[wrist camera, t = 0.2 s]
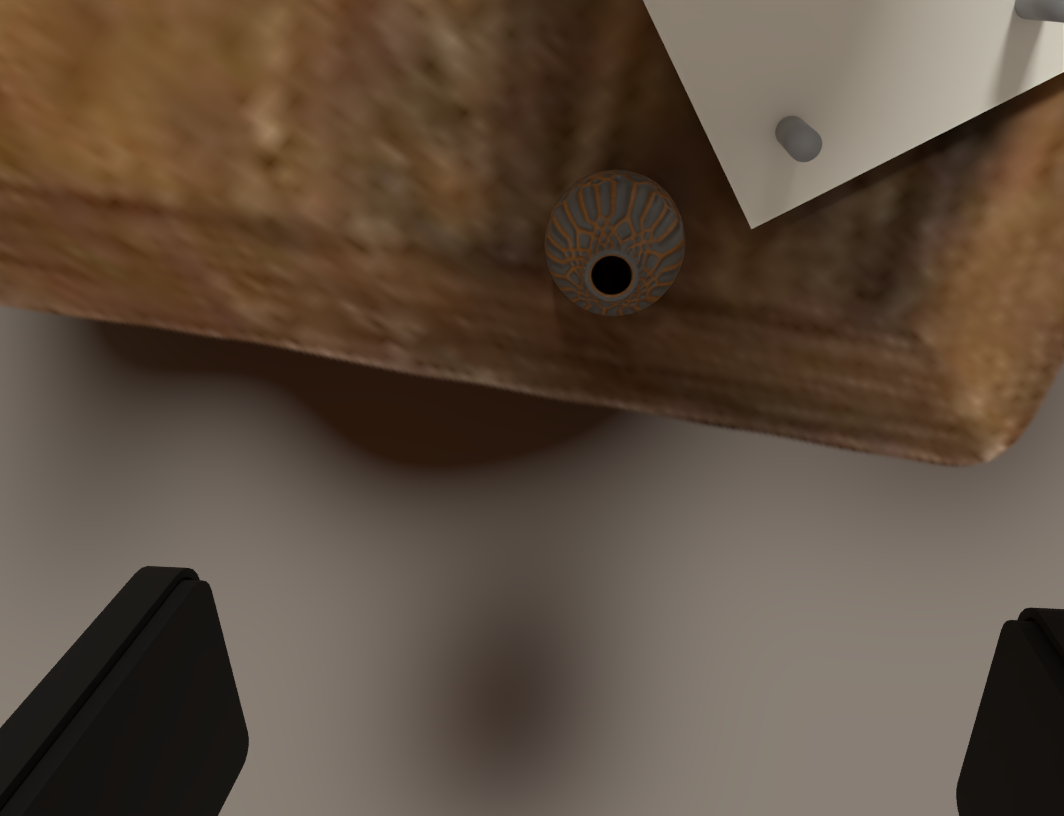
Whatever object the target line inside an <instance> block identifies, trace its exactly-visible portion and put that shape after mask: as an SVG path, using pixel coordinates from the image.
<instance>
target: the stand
mask: <svg viewBox="0 0 1064 816" xmlns="http://www.w3.org/2000/svg"><path fill="white" fill-rule="evenodd" d="M643 2H644V4H645V6H646V8H647V10H648V12H649V14H650V16H651V18H652V21H653V23H654V25H655V27H656V29H657V31H658V33H659V35H660V37H661V39H662V42H663V44H664V46H665V48H666V50H667V52H668V54H669V56H670V58H671V61H672V63H673V65H674V67H675V69H676V71H677V73H678V75H679V77H680V80H681V82H682V84H683V86H684V88H685V90H686V92H687V94H688V96H689V99H690V101H691V103H692V105H693V107H694V109H695V111H696V113H697V115H698V118H699V120H700V122H701V124H702V126H703V128H704V130H705V132H706V134H707V136H708V139H709V141H710V143H711V145H712V147H713V149H714V151H715V153H716V155H717V158H718V160H719V162H720V164H721V166H722V168H723V170H724V172H725V174H726V177H727V179H728V181H729V183H730V185H731V187H732V189H733V191H734V193H735V196H736V198H737V200H738V202H739V204H740V206H741V208H742V210H743V212H744V214H745V217H746V219H747V221H748V223H749V225H750V227H751V229H753V228H755V227H757V226H759V225H761V224H763V223H765V222H767V221H769V220H771V219H773V218H775V217H777V216H779V215H781V214H783V213H785V212H787V211H789V210H791V209H793V208H795V207H797V206H799V205H801V204H803V203H805V202H807V201H809V200H811V199H813V198H815V197H817V196H819V195H821V194H823V193H825V192H827V191H829V190H831V189H833V188H835V187H837V186H839V185H841V184H843V183H845V182H847V181H848V180H850V179H852V178H854V177H856V176H858V175H860V174H862V173H864V172H866V171H868V170H870V169H872V168H874V167H876V166H878V165H880V164H882V163H884V162H886V161H888V160H890V159H892V158H894V157H896V156H898V155H900V154H902V153H904V152H906V151H908V150H910V149H912V148H914V147H916V146H918V145H920V144H922V143H924V142H926V141H928V140H930V139H932V138H934V137H936V136H938V135H940V134H942V133H944V132H946V131H948V130H950V129H952V128H954V127H956V126H958V125H960V124H962V123H964V122H966V121H968V120H970V119H971V118H973V117H975V116H977V115H979V114H981V113H983V112H985V111H987V110H989V109H991V108H993V107H995V106H997V105H999V104H1001V103H1003V102H1005V101H1007V100H1009V99H1011V98H1013V97H1015V96H1017V95H1019V94H1021V93H1023V92H1025V91H1027V90H1029V89H1031V88H1033V87H1035V86H1037V85H1039V84H1041V83H1043V82H1045V81H1047V80H1049V79H1051V78H1053V77H1055V76H1057V75H1059V74H1061V73H1063V72H1064V0H643Z"/></svg>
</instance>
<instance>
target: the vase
mask: <svg viewBox="0 0 1064 816" xmlns="http://www.w3.org/2000/svg"><path fill="white" fill-rule="evenodd" d="M544 244H545V256H546V262H547V265H548V269H549V271H550V274H551V276H552V278H553V280H554V282H555V283H556V285H557V286H558V288H559V289H560V290H561V292H562V293H563V294H564V295H565V296H566V297H567V298H568V299H569V300H570V301H572V302H573V303H574V304H576V305H577V306H579V307H581V308H583V309H585V310H587V311H589V312H592V313H595V314H599V315H604V316H622V315H628V314H632V313H635V312H638V311H640V310H642V309H645V308H646V307H648V306H650V305H651V304H653V303H654V302H656V301H657V300H658V299H659V298H660V297H662V296H663V295H664V294H665V292H666V291H667V290H668V289H669V288H670V286H671V285H672V284H673V282H674V280H675V279H676V277H677V275H678V273H679V271H680V268H681V265H682V262H683V258H684V254H685V230H684V225H683V221H682V218H681V215H680V212H679V210H678V208H677V206H676V204H675V203H674V201H673V199H672V198H671V197H670V195H669V194H668V193H667V192H666V191H665V190H664V188H662V187H661V186H660V185H659V184H658V183H656V182H655V181H653V180H652V179H650V178H648V177H646V176H644V175H642V174H639V173H636V172H632V171H627V170H606V171H601V172H597V173H594V174H591V175H589V176H587V177H585V178H583V179H581V180H579V181H578V182H576V183H575V184H574V185H573V186H571V187H570V188H569V189H568V190H567V191H566V192H565V193H564V194H563V196H562V197H561V198H560V199H559V201H558V202H557V204H556V206H555V207H554V209H553V211H552V213H551V215H550V218H549V221H548V224H547V228H546V233H545V243H544Z"/></svg>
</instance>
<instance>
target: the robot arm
mask: <svg viewBox="0 0 1064 816" xmlns="http://www.w3.org/2000/svg"><path fill="white" fill-rule="evenodd" d="M248 746H249V737H248V731H247V727H246V723H245V719H244V715H243V711H242V708H241V704H240V700H239V696H238V692H237V688H236V684H235V680H234V676H233V672H232V668H231V665H230V660H229V656H228V652H227V649H226V645H225V641H224V637H223V633H222V629H221V625H220V621H219V617H218V613H217V609H216V605H215V602H214V598H213V594H212V590H211V588H210V585H209V584H208V583H207V582H206V581H202V580H200V579H199V577H198V575H197V573H196V572H195V571H194V570H193V569H190V568H177V567H156V566H155V567H154V566H147V567H143V568H141V569H140V570H139V571H138V572H137V573H135V574H134V576H133V577H132V578H131V579H130V580H129V581H128V582H127V583H126V585H125V586H124V587H123V588H122V589H121V590H120V591H119V593H118V594H117V595H116V596H115V597H114V598H113V599H112V601H111V602H110V603H109V604H108V605H107V606H106V608H105V609H104V610H103V611H102V612H101V613H100V614H99V616H98V617H97V618H96V619H95V620H94V621H93V622H92V624H91V625H90V626H89V627H88V628H87V629H86V630H85V632H84V633H83V634H82V635H81V636H80V637H79V639H78V640H77V641H76V642H75V643H74V644H73V645H72V646H71V648H70V649H69V650H68V651H67V652H66V653H65V654H64V656H63V657H62V658H61V659H60V660H59V661H58V663H57V664H56V665H55V666H54V667H53V668H52V669H51V671H50V672H49V673H48V674H47V675H46V676H45V678H44V679H43V680H42V681H41V682H40V683H39V684H38V686H37V687H36V688H35V689H34V690H33V691H32V692H31V693H30V695H29V696H28V697H27V698H26V699H25V700H24V701H23V703H22V704H21V705H20V706H19V707H18V709H17V710H16V711H15V712H14V713H13V714H12V715H11V717H10V718H9V719H8V720H7V721H6V722H5V723H4V724H3V726H2V727H1V728H0V816H218V814H219V812H220V810H221V808H222V806H223V805H224V803H225V801H226V798H227V797H228V795H229V793H230V791H231V789H232V787H233V785H234V783H235V781H236V779H237V777H238V775H239V773H240V771H241V769H242V767H243V765H244V763H245V760H246V756H247V752H248ZM956 790H957V791H956V799H957V807H958V812H959V816H1064V609H1048V608H1026V609H1024V610H1023V611H1022V612H1021V613H1020V615H1019V617H1018V620H1009V621H1006V622H1005V623H1004V625H1003V627H1002V629H1001V633H1000V636H999V640H998V643H997V647H996V650H995V654H994V657H993V661H992V664H991V668H990V671H989V675H988V678H987V682H986V685H985V689H984V692H983V696H982V699H981V703H980V706H979V710H978V713H977V717H976V720H975V724H974V727H973V731H972V734H971V738H970V741H969V745H968V748H967V752H966V755H965V759H964V762H963V766H962V769H961V773H960V776H959V780H958V783H957V789H956Z"/></svg>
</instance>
